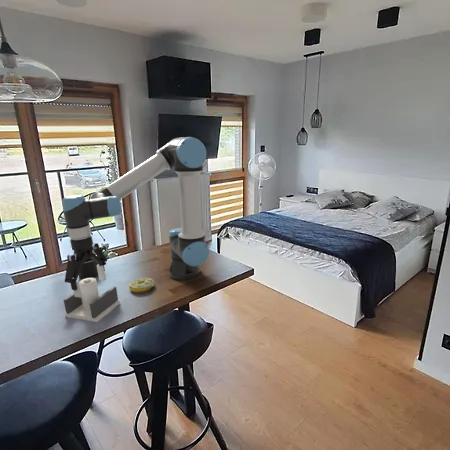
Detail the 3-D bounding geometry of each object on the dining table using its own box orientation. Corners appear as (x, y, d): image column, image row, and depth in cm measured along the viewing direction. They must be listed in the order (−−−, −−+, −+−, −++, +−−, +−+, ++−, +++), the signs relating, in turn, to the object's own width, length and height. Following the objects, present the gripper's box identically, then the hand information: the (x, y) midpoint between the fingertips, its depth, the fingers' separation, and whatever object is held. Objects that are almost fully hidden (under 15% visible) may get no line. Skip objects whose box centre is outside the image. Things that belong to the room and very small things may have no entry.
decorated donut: (158, 287, 143) (158, 280, 142) (138, 296, 135) (137, 289, 134) (145, 281, 149) (144, 273, 148) (125, 289, 142) (124, 282, 141)
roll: (103, 303, 127) (99, 277, 124) (92, 311, 122) (88, 285, 119) (90, 301, 129) (86, 276, 126) (79, 309, 124) (74, 283, 121)
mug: (107, 274, 158) (104, 257, 156) (82, 281, 151) (78, 264, 148) (101, 268, 165) (98, 252, 163) (76, 275, 158) (73, 258, 156)
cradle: (120, 303, 130) (117, 286, 128) (97, 322, 117) (93, 304, 115) (90, 298, 135) (87, 282, 133) (65, 316, 122) (61, 299, 120)
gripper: (95, 226, 130) (104, 273, 136) (45, 248, 107) (58, 303, 114) (110, 227, 127) (118, 274, 134) (62, 249, 105) (75, 305, 111)
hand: (91, 288), depth 124 cm, fingers open, 13 cm apart
